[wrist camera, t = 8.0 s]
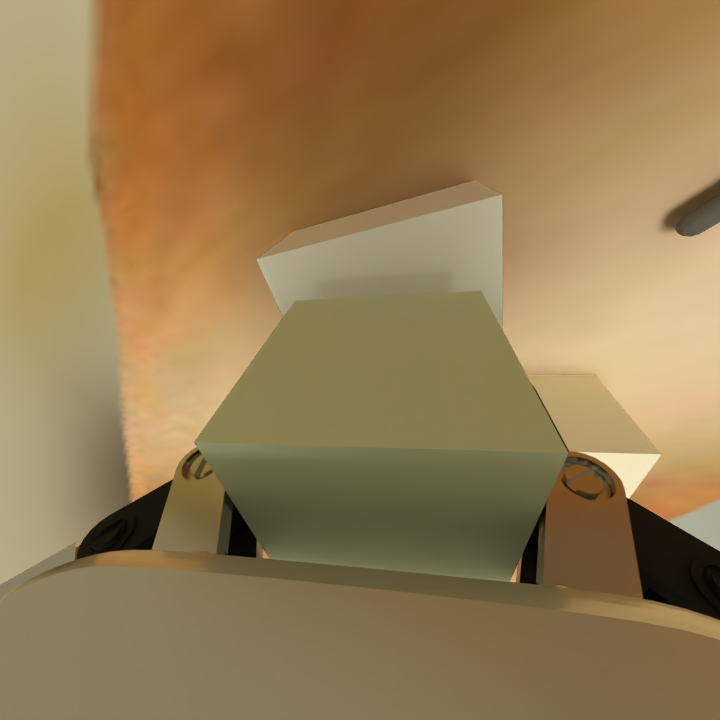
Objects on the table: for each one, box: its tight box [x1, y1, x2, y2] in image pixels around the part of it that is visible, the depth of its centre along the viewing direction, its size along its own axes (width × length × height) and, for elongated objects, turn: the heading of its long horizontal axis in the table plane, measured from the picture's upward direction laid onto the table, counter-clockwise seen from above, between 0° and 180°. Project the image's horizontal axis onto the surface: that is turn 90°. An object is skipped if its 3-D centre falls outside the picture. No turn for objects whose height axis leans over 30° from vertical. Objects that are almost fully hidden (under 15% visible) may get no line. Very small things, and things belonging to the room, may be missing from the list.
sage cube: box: [194, 291, 568, 582], centre depth 9 cm, size 6×6×6 cm
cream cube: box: [527, 374, 661, 499], centre depth 18 cm, size 6×6×6 cm
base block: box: [256, 180, 503, 330], centre depth 15 cm, size 9×9×5 cm
